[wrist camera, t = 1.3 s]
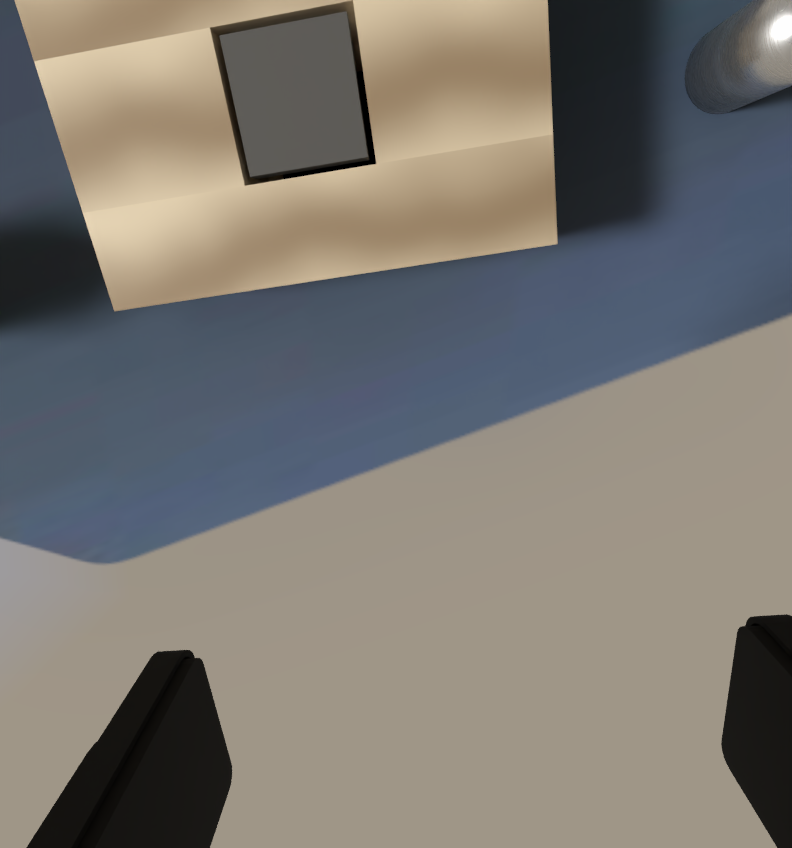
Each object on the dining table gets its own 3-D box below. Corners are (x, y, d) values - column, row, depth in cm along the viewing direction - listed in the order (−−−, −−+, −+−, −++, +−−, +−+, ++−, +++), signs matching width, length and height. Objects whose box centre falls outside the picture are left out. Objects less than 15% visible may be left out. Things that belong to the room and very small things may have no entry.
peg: (686, 31, 26) (781, -43, 19) (768, 16, 26) (893, -64, 19) (683, 120, 27) (771, 79, 21) (761, 107, 27) (876, 62, 20)
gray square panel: (226, 43, 20) (219, 35, 20) (348, 20, 20) (346, 11, 19) (255, 179, 22) (249, 176, 21) (369, 160, 22) (367, 157, 21)
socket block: (111, 19, 26) (-9, -72, 19) (500, -57, 25) (539, -189, 17) (186, 295, 31) (114, 311, 23) (519, 244, 29) (557, 244, 22)
